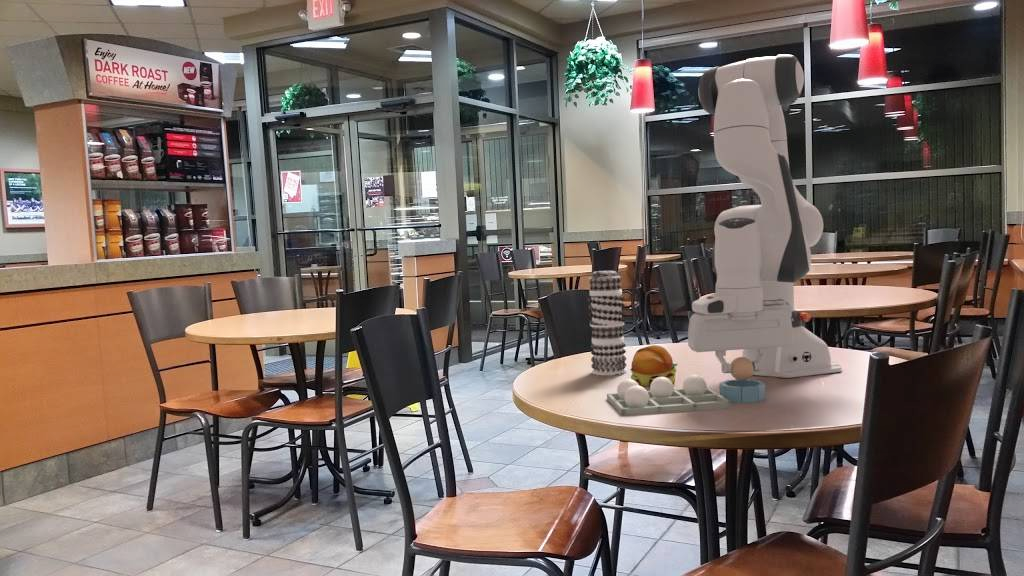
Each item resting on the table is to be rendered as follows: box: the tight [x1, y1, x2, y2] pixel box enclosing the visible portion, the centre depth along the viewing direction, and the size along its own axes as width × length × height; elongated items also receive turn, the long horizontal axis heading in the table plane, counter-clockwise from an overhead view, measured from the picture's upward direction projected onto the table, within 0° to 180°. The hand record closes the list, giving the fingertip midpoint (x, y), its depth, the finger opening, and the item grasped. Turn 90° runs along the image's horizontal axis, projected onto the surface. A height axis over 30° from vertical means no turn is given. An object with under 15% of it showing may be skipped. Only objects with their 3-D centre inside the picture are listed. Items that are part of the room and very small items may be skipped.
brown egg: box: [730, 356, 754, 380], centre depth 149 cm, size 5×5×5 cm
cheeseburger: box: [629, 344, 678, 388], centre depth 168 cm, size 10×11×10 cm
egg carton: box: [606, 373, 733, 416], centre depth 148 cm, size 21×14×5 cm
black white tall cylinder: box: [586, 270, 628, 376], centre depth 187 cm, size 9×9×25 cm
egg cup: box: [719, 378, 766, 404], centre depth 150 cm, size 8×8×4 cm
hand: (741, 371), depth 149 cm, fingers closed on brown egg, 5 cm apart
